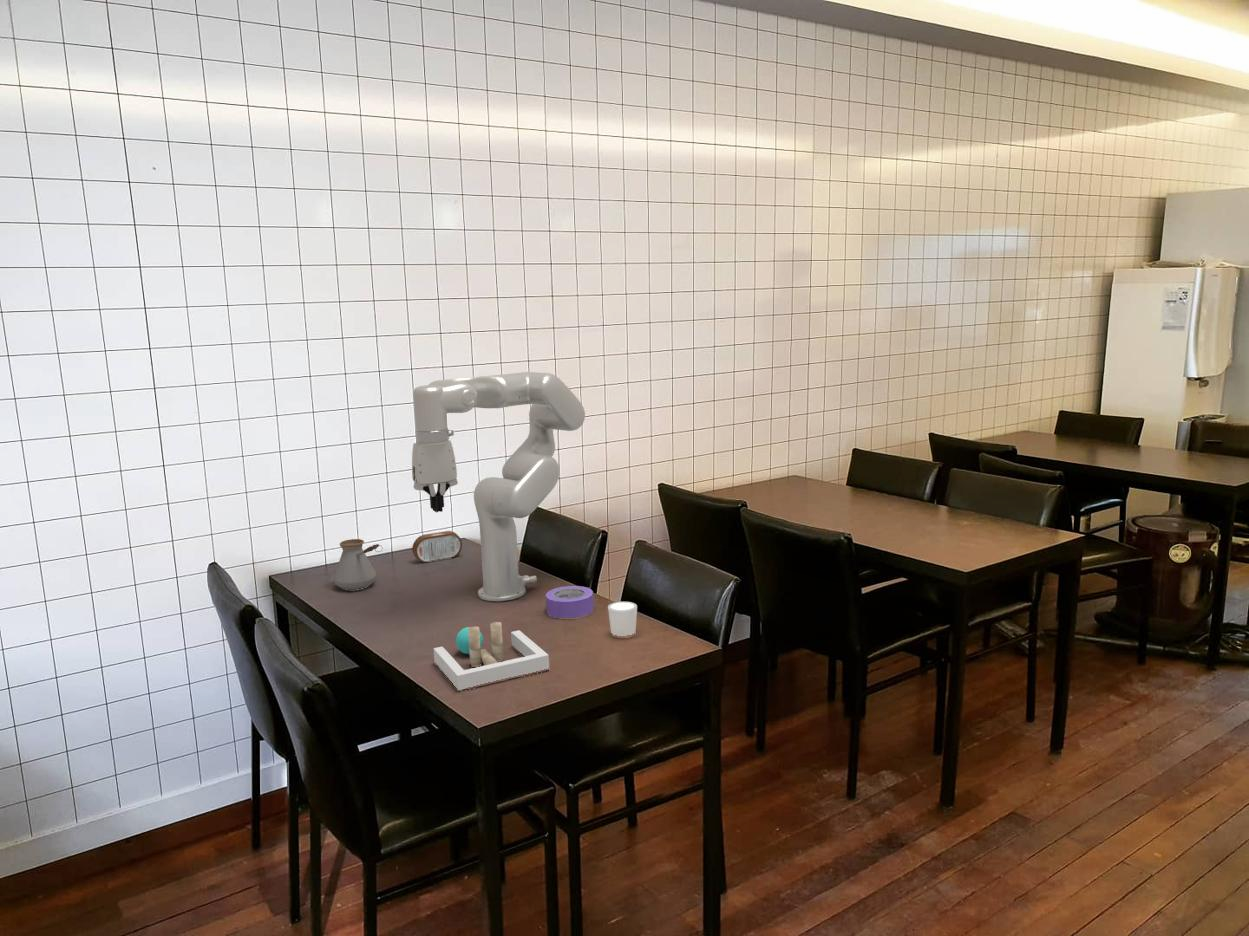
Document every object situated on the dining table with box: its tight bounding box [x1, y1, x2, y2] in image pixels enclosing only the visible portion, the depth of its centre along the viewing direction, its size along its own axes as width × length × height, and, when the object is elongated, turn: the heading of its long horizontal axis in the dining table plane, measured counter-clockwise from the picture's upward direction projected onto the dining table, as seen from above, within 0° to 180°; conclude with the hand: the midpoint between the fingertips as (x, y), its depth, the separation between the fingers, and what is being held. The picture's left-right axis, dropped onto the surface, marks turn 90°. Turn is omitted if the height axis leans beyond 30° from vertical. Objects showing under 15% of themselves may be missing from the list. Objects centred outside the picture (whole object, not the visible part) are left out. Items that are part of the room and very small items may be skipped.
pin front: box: [481, 648, 498, 666], centre depth 201 cm, size 2×2×8 cm
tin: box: [412, 530, 463, 563], centre depth 281 cm, size 15×3×8 cm, turn 120°
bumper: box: [433, 629, 550, 691], centre depth 200 cm, size 20×17×4 cm
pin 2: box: [490, 621, 504, 661], centre depth 203 cm, size 2×2×8 cm
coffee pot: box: [333, 538, 384, 590], centre depth 253 cm, size 21×12×15 cm, turn 43°
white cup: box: [607, 601, 638, 636], centre depth 216 cm, size 7×7×7 cm
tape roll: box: [545, 585, 595, 618], centre depth 233 cm, size 12×12×5 cm
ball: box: [455, 626, 484, 655], centre depth 208 cm, size 6×6×6 cm
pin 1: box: [468, 626, 482, 665], centre depth 201 cm, size 2×2×8 cm
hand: (437, 510), depth 227 cm, fingers closed
